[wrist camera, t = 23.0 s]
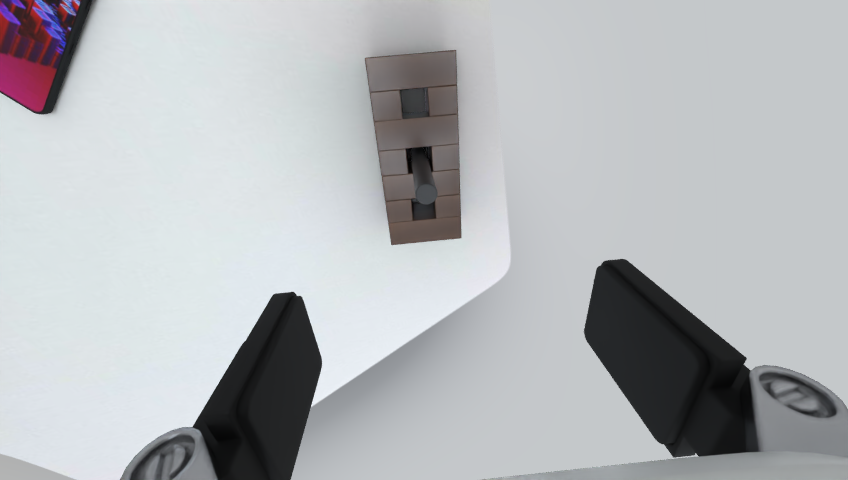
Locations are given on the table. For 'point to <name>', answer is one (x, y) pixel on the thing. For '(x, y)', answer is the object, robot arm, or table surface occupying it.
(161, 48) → the table surface
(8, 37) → the smartphone
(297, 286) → the table surface
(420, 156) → the stylus
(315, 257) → the table surface
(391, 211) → the pen stand
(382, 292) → the table surface
